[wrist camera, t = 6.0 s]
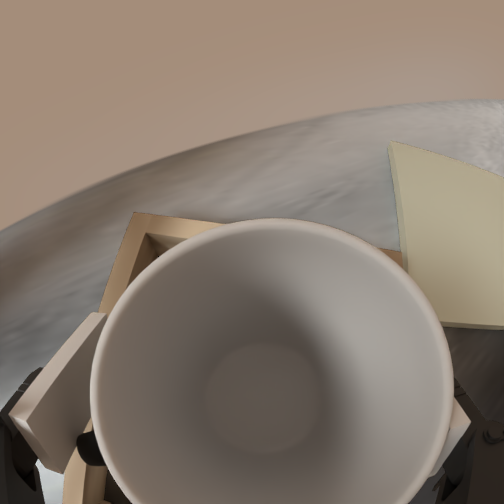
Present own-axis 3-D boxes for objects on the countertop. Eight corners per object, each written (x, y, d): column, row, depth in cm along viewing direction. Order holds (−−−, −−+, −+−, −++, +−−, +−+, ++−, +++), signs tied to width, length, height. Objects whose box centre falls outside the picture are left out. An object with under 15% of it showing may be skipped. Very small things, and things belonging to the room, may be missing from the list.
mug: (305, 295, 18) (356, 178, 9) (370, 432, 14) (494, 446, 5) (111, 365, 16) (-12, 311, 7) (165, 507, 12) (79, 590, 3)
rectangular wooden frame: (84, 506, 11) (61, 517, 9) (146, 236, 19) (133, 212, 17) (344, 556, 10) (358, 575, 7) (384, 272, 18) (402, 252, 16)
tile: (402, 322, 17) (409, 318, 16) (387, 148, 24) (391, 140, 23) (541, 331, 16) (549, 327, 15) (509, 187, 23) (514, 182, 22)
